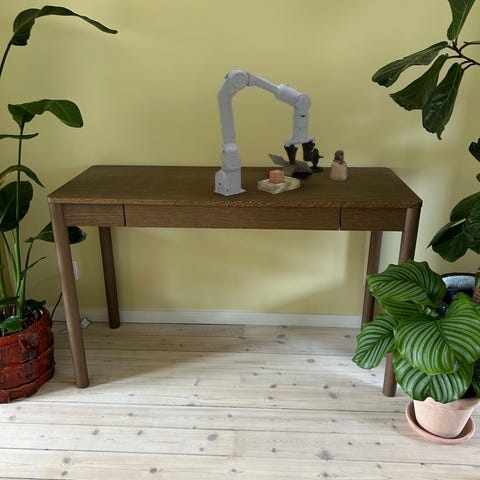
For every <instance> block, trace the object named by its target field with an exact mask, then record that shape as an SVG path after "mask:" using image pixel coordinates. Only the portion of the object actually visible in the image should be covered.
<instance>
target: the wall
mask: <svg viewBox="0 0 480 480" xmlns="http://www.w3.org/2000/svg"><path fill="white" fill-rule="evenodd" d="M267 155H268V157H269V158H270V159H271V161H272V163H273V165H278V166H281V167H282V170H281V171H284V176H287V177H291V178H292V176H293V174H294V172H296V173H299V172H300V171H302V172H308V173H311V174H313V173H314V172H312V170H311V169H310V167H309V164H308V162H305V161H302V160H298V159H295V165H291V164H290V163H289V160H285V159H284V157H283V156H282V155H281V156H280V155H277V154H272V153H267Z"/></svg>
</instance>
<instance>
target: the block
mask: <svg viewBox="0 0 480 480" xmlns="http://www.w3.org/2000/svg"><path fill="white" fill-rule="evenodd" d="M268 179H269V182H270V183H273V184H280V183H284V171H282V170H280V169H275V170H270V171H269V178H268Z"/></svg>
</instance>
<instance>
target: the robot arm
mask: <svg viewBox="0 0 480 480" xmlns="http://www.w3.org/2000/svg"><path fill="white" fill-rule="evenodd" d="M222 80H223V81H222V82H221V85H220V86H219V89H218V91H217V104H218V111H219V121H220V130H221V138H222V139H221V140H222V147H221V148H222V153H221V155H220V159H221V162H222V163H223V164H222V166H221V169H220V170H217V172H215V174H214V182H215V183H214V185H215V187H214V189H215V190H213V192H214V193H216V194H220V195H222V196H224V197H229V196H233V195H236V194H237V195H238V194H241V193H242V194H243V193H245V192H246V190H245V189H242V180H241V179H242V177H241V176H242V170H241V169H242V167H241V165H242V158H241V156H240V154H239V152H238V150H239V149H238V146H237V138H236V132H235V131H236V130H235V124H234V123H235V122H234V112H233V104H232V103H233V102H232V101H233V100H232V99H233V98H234V96H236V94H237V93H238V92H240V91H242V90H243V89H245V88H246V87H257V88H259V89H262V90H265V91H266V92H269V93H271V94H273V95H274V98H275V100H278V101H280V102H282V103H284V104H286V105H288V106H290V107H291V106H292V107H293V113H292V134H291V135H292V137H291V138H289V139H287V140H284V141H283V142H284V145H283V148H284V150H285V152H286V155H287V158H288V159H287V160H288V161H289V163H290V164H291V165H295V160H297V159H296V157H297V152H298V149H299V147H298V145H301V148H302V159H303V162H307V163H309V162H308V161H309V158H310V155H311V152H312V151H313V149H314V148H316V143H315V142H316V141H315V140H316V137H315V136H310V135H309V117H310V116H309V115H310V111H309V110H310V108H311V106H312V103H313V102H312V101H311V97H310V96H309V95H308V94H306V93H302V92H301V90H300V89H294V88H292V87H290V84H288V83H285V84H284V83H281V84H278V85H277V84H275V83H274V82H271V81H269V80H267V79H265V78H263V77H261V76H259V75H257V74H254V73H251V72H246V71H244V70H241V69H237V68H233V69H231V70H229V72H228V73H227V74H225V75H224V77H223V79H222ZM308 135H309V136H308ZM296 145H297V146H296Z"/></svg>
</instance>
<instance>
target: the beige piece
mask: <svg viewBox="0 0 480 480" xmlns="http://www.w3.org/2000/svg"><path fill="white" fill-rule="evenodd" d="M299 188H301V179H298V178H294V177H292V176H291V177H287V176H284V183H280V184H273V183H270V182H269V178H267V179H264V180H258V181H257V190H259V191H263V192H266V193H269V194H272V195H275V194H279V193H283V192H287V191H291V190H295V189H299Z"/></svg>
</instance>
